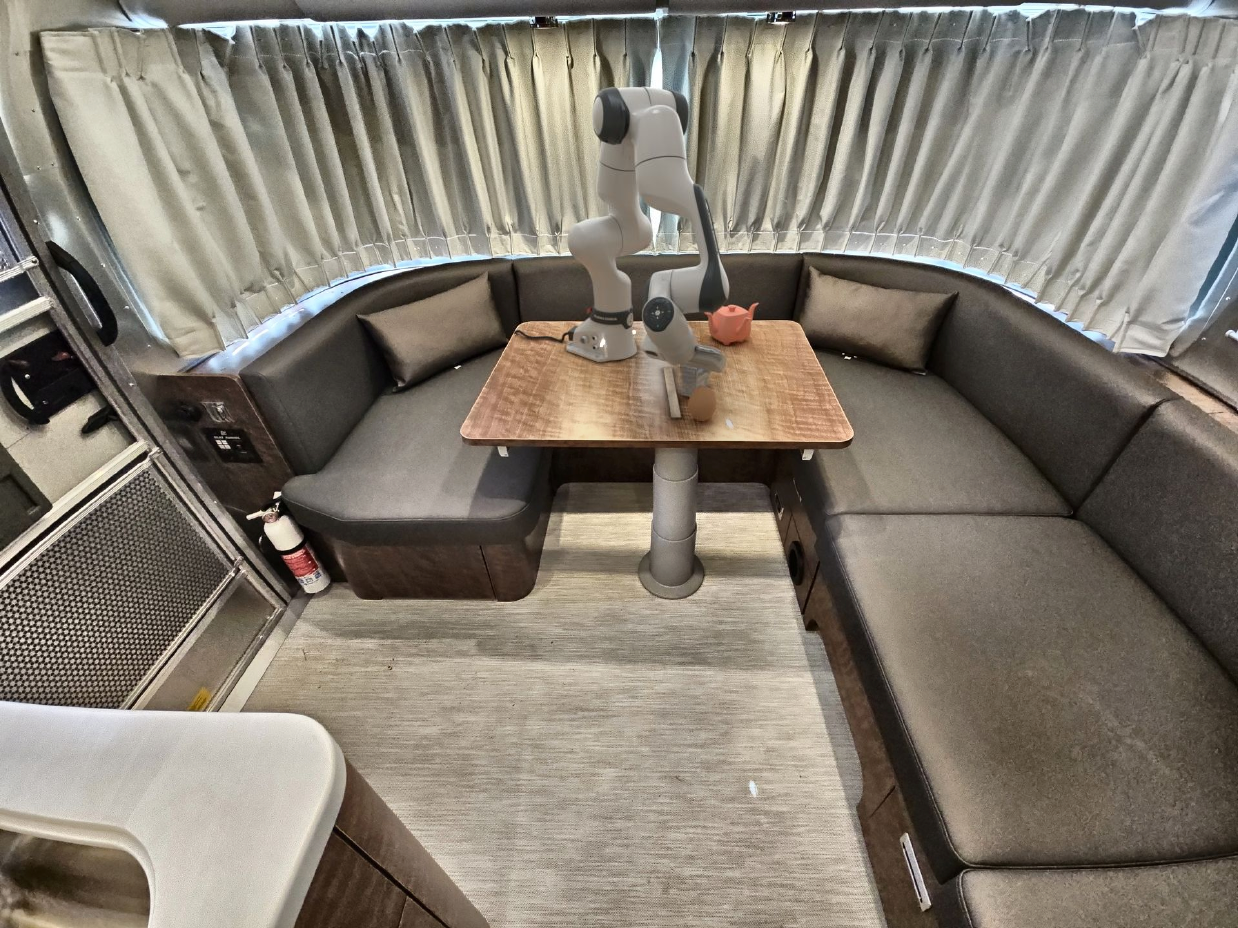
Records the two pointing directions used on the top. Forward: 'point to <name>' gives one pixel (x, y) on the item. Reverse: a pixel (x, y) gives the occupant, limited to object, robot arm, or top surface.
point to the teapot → (731, 323)
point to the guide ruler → (671, 393)
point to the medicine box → (692, 379)
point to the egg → (702, 403)
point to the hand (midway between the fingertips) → (692, 366)
